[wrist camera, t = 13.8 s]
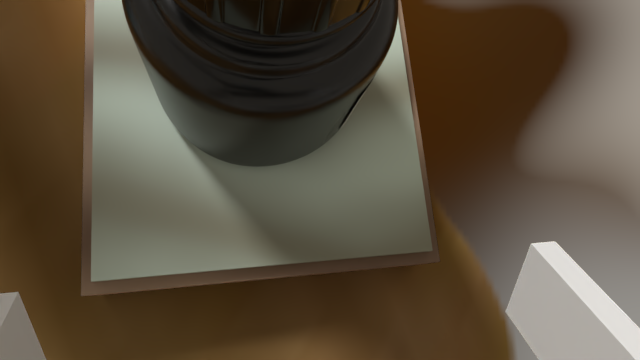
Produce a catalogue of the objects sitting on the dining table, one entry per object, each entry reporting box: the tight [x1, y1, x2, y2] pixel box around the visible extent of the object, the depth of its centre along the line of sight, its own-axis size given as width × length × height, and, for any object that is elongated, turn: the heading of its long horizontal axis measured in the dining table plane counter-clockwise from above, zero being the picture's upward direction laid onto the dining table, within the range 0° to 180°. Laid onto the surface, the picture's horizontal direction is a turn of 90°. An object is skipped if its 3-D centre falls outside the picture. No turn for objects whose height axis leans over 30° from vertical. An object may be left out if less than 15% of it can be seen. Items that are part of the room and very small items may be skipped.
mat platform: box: [81, 0, 440, 296], centre depth 22 cm, size 18×15×4 cm
